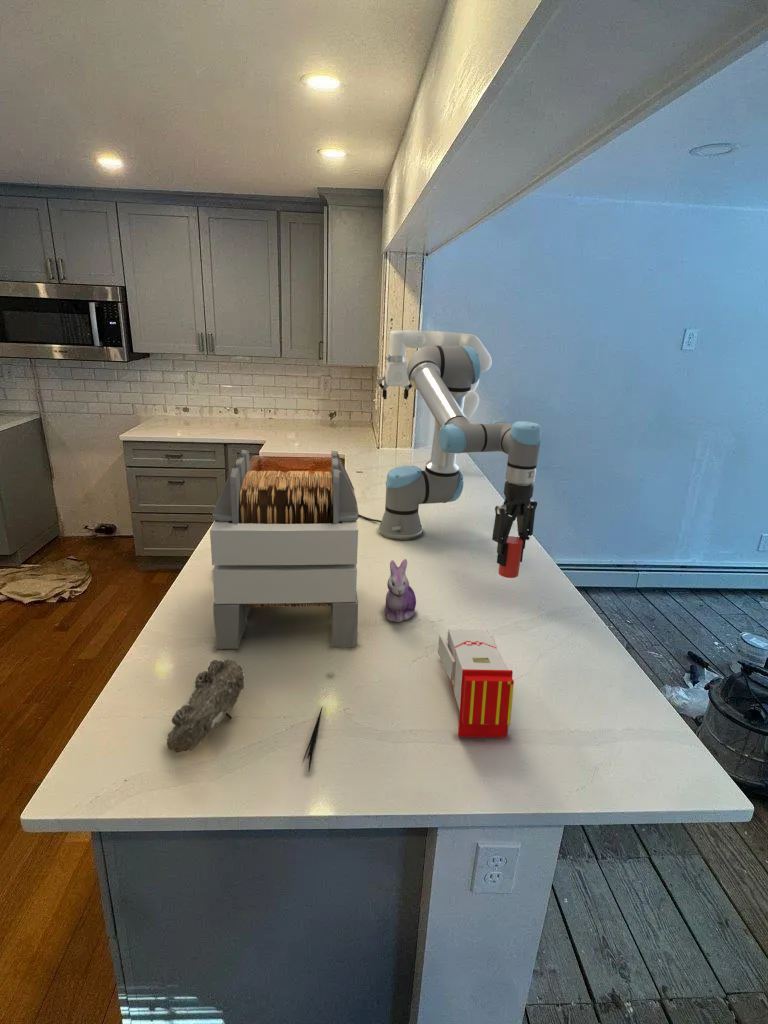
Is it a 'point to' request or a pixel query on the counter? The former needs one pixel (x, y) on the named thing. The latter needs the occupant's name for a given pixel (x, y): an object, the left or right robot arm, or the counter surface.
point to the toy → (478, 682)
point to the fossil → (206, 705)
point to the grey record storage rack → (285, 547)
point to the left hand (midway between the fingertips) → (509, 562)
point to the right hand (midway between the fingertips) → (395, 398)
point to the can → (512, 558)
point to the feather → (313, 740)
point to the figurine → (399, 594)
